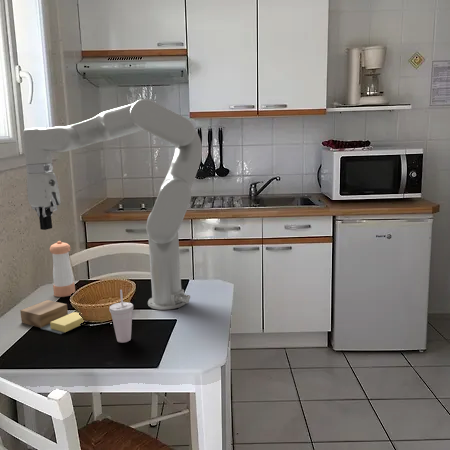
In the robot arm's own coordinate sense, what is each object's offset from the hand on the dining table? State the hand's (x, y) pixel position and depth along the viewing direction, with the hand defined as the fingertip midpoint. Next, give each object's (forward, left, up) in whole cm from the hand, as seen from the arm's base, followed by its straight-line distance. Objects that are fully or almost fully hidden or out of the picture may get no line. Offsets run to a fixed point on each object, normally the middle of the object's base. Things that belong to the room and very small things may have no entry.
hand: (46, 228), depth 153 cm
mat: (-12, +6, -27) cm, 30 cm away
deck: (-3, +6, -27) cm, 28 cm away
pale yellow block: (-14, +6, -25) cm, 29 cm away
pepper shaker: (+12, -14, -27) cm, 33 cm away
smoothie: (-35, +6, -27) cm, 45 cm away
